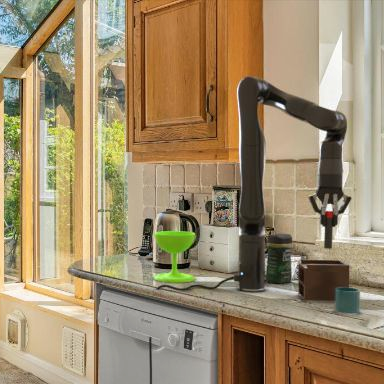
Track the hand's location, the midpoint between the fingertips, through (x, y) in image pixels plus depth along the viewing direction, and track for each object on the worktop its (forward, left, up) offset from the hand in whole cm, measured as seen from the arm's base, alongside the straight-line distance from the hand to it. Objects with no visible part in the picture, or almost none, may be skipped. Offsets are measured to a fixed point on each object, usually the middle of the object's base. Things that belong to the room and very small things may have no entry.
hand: (328, 226), depth 190 cm
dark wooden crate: (0, +5, -25) cm, 25 cm away
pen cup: (+3, -14, -25) cm, 28 cm away
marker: (0, 0, -7) cm, 7 cm away
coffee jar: (-10, +34, -25) cm, 43 cm away
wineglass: (-50, +36, -25) cm, 67 cm away
